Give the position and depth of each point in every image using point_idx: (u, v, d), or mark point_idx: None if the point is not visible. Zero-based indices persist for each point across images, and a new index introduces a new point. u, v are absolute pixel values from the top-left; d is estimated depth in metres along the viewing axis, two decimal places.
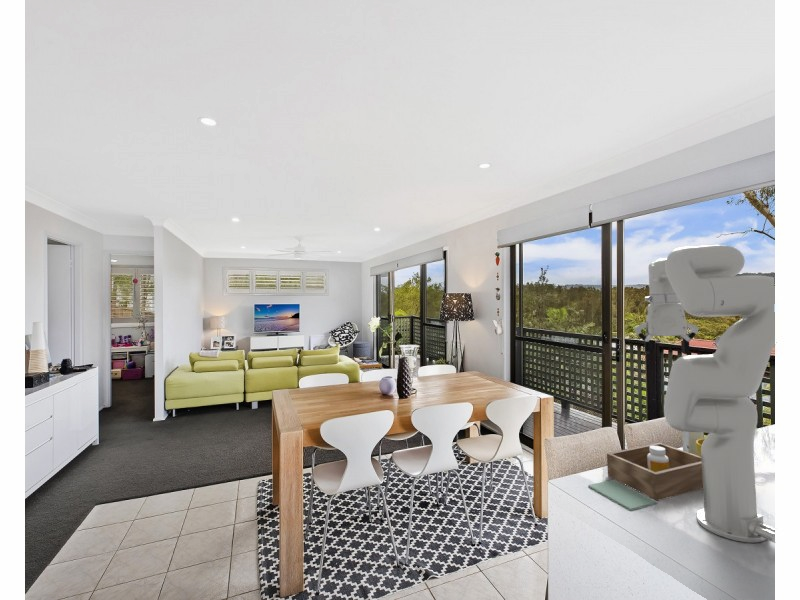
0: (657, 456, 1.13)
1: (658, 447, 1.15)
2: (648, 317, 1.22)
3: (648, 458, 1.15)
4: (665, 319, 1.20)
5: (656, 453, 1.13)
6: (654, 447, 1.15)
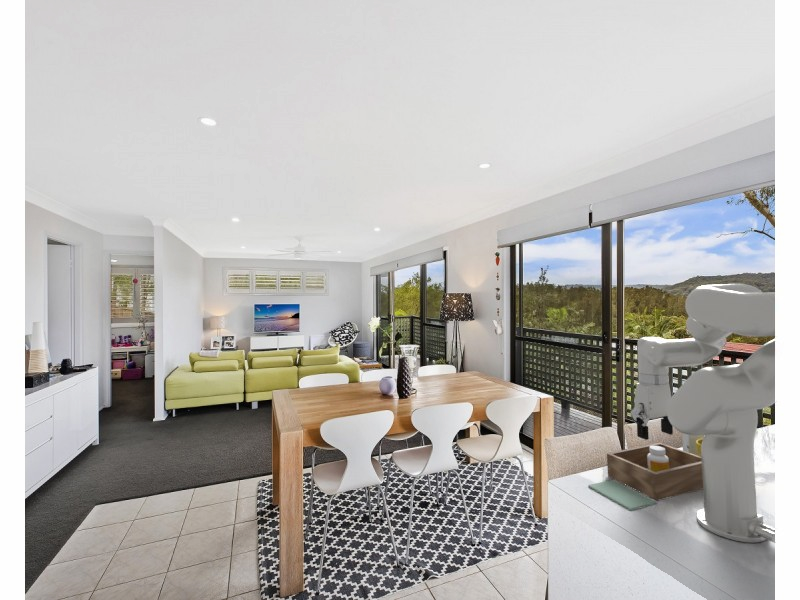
0: (657, 456, 1.13)
1: (658, 447, 1.15)
2: None
3: (648, 458, 1.15)
4: None
5: (656, 453, 1.13)
6: (654, 447, 1.15)
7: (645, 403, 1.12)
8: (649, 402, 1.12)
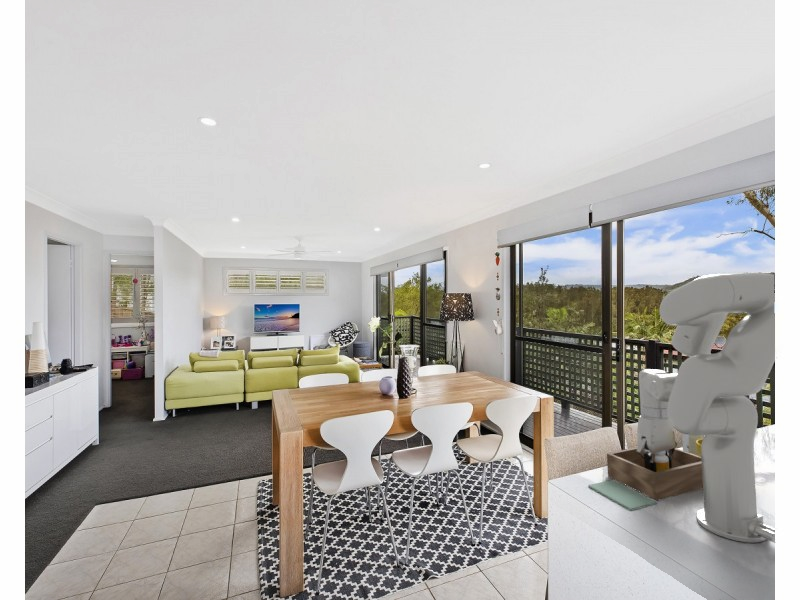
0: (657, 456, 1.13)
1: None
2: None
3: None
4: None
5: (656, 453, 1.13)
6: None
7: (648, 437, 1.12)
8: (652, 435, 1.11)
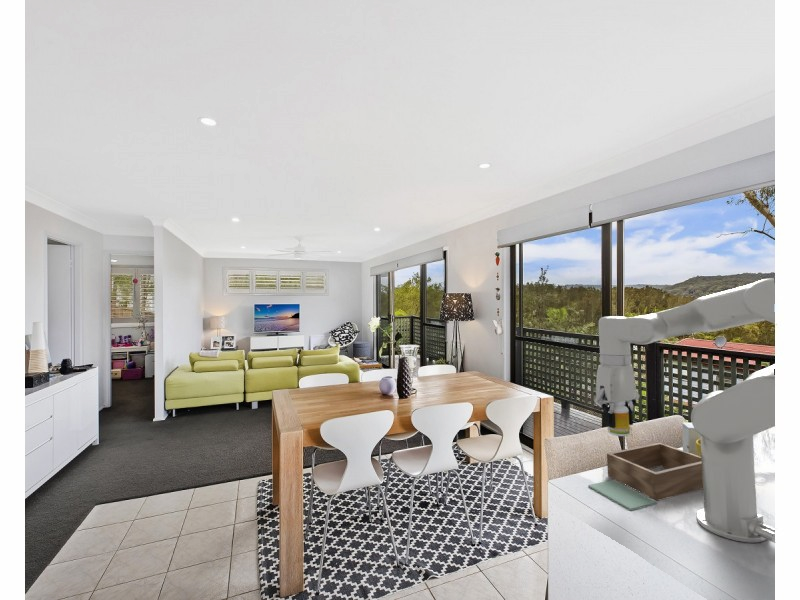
0: (616, 406, 1.06)
1: None
2: None
3: None
4: None
5: (615, 404, 1.06)
6: None
7: (606, 386, 1.05)
8: (610, 384, 1.04)
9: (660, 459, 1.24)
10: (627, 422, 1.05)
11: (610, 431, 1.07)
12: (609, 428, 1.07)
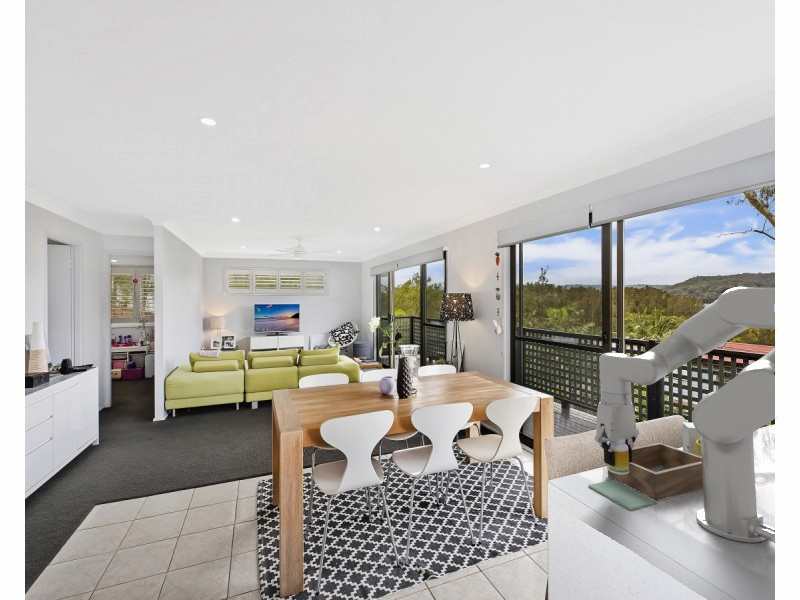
0: (616, 444, 1.06)
1: None
2: None
3: None
4: None
5: (615, 442, 1.06)
6: None
7: (606, 424, 1.05)
8: (610, 423, 1.04)
9: (660, 459, 1.24)
10: (627, 460, 1.05)
11: (610, 469, 1.07)
12: (609, 465, 1.07)
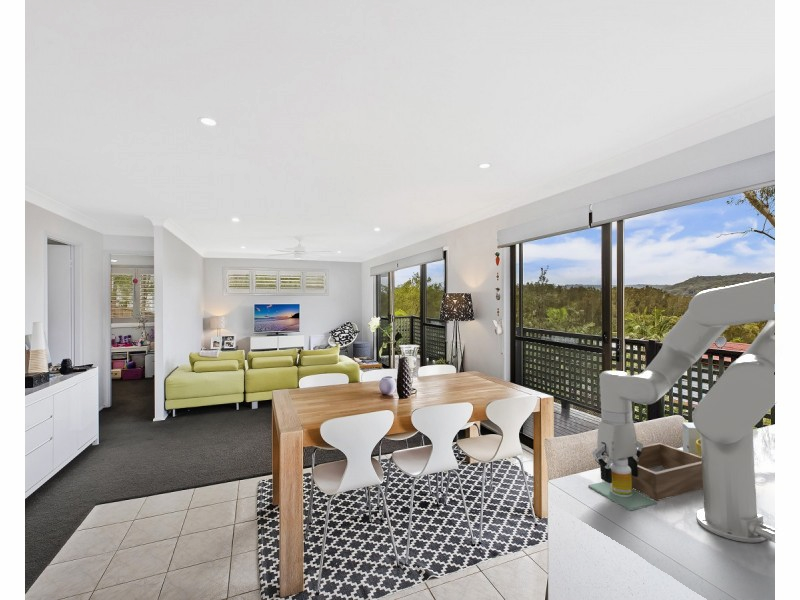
0: (619, 467, 1.06)
1: None
2: None
3: None
4: None
5: (618, 464, 1.06)
6: None
7: (607, 443, 1.04)
8: (611, 442, 1.04)
9: (660, 459, 1.24)
10: (630, 483, 1.05)
11: (613, 491, 1.06)
12: (612, 488, 1.07)
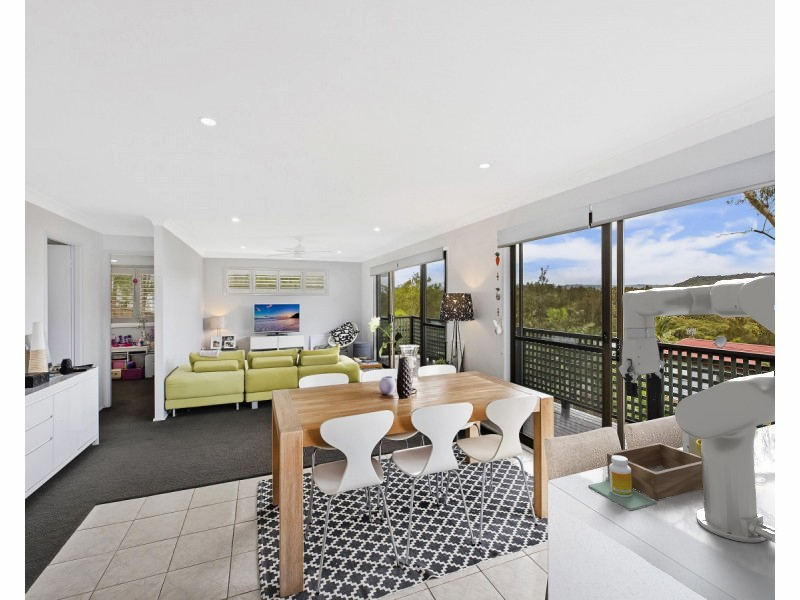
0: (619, 466, 1.06)
1: (620, 457, 1.07)
2: None
3: (610, 469, 1.07)
4: None
5: (618, 464, 1.06)
6: (616, 457, 1.07)
7: (633, 358, 1.07)
8: (637, 356, 1.06)
9: (660, 459, 1.24)
10: (630, 483, 1.05)
11: (613, 491, 1.06)
12: (612, 488, 1.07)
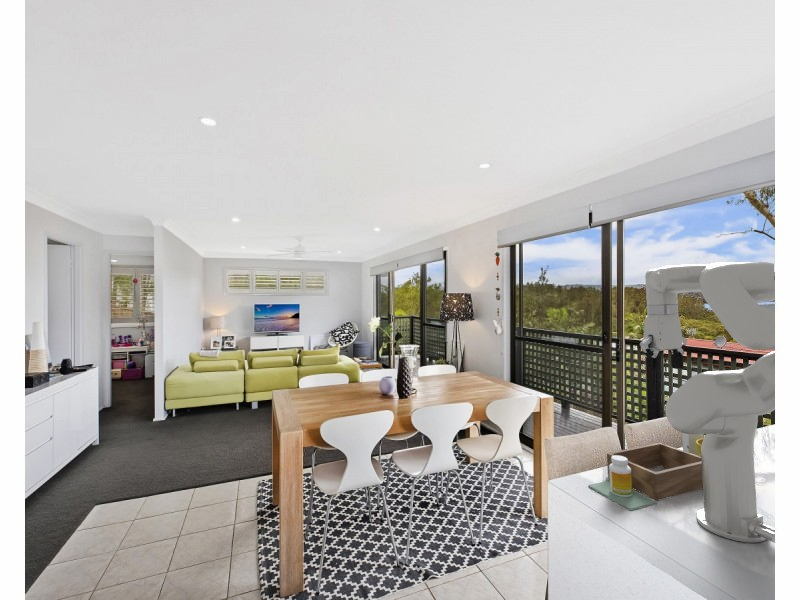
0: (619, 466, 1.06)
1: (620, 457, 1.07)
2: None
3: (610, 469, 1.07)
4: None
5: (618, 464, 1.06)
6: (616, 457, 1.07)
7: (655, 334, 1.10)
8: (659, 332, 1.09)
9: (660, 459, 1.24)
10: (630, 483, 1.05)
11: (613, 491, 1.06)
12: (612, 488, 1.07)
